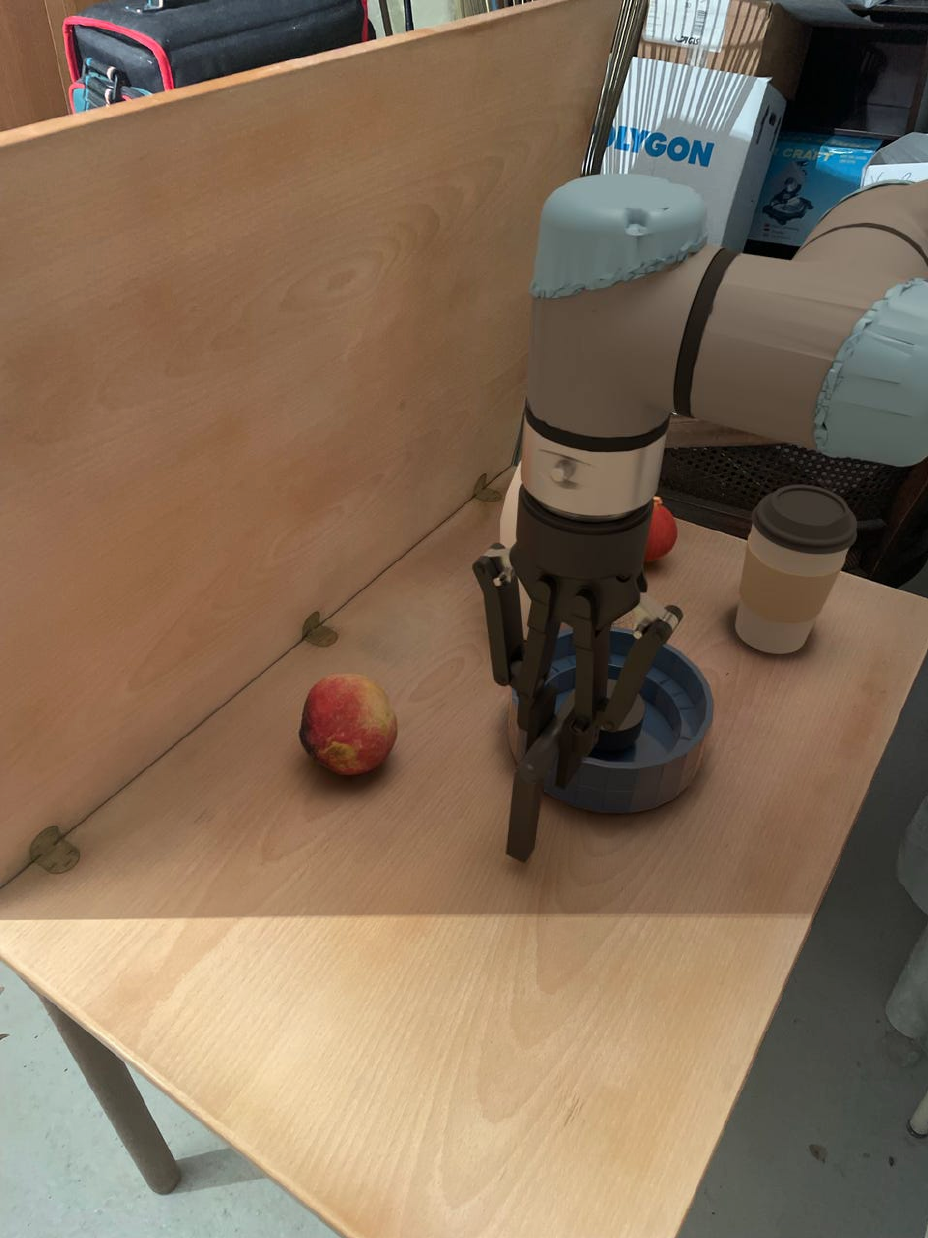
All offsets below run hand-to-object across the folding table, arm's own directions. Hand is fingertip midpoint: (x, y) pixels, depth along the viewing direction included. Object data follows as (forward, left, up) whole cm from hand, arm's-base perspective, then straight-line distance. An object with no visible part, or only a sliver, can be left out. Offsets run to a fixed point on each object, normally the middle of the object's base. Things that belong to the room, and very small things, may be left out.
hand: (552, 767), depth 65 cm
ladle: (0, -5, -5) cm, 7 cm away
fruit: (+17, +2, -8) cm, 19 cm away
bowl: (0, -11, -7) cm, 13 cm away
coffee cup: (-8, -33, -8) cm, 35 cm away
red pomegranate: (+7, -37, -8) cm, 38 cm away
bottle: (+11, -23, -8) cm, 27 cm away
